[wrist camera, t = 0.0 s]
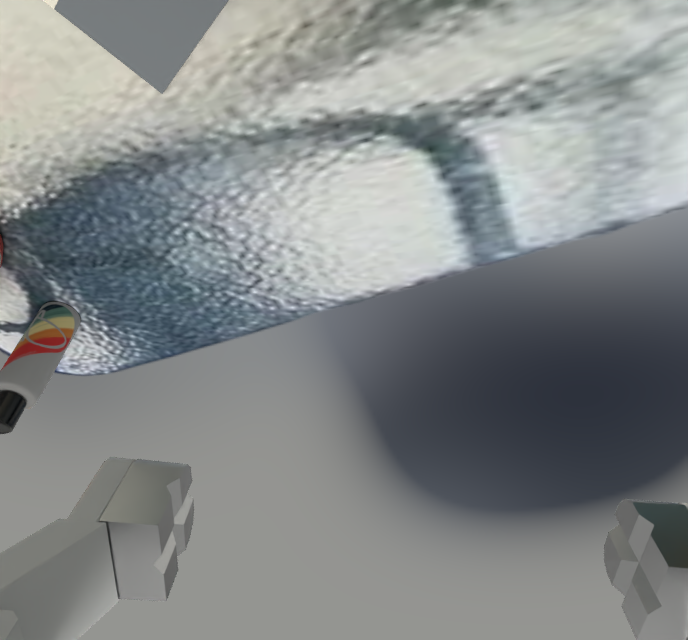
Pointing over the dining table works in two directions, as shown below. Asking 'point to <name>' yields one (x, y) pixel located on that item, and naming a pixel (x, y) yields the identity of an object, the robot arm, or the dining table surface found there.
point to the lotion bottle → (35, 361)
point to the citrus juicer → (1, 250)
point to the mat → (144, 31)
